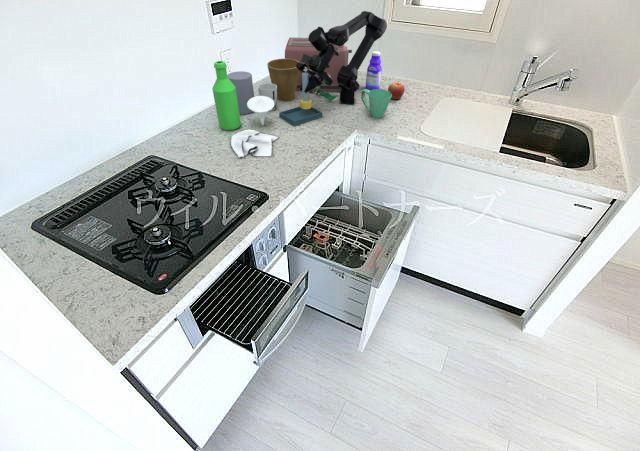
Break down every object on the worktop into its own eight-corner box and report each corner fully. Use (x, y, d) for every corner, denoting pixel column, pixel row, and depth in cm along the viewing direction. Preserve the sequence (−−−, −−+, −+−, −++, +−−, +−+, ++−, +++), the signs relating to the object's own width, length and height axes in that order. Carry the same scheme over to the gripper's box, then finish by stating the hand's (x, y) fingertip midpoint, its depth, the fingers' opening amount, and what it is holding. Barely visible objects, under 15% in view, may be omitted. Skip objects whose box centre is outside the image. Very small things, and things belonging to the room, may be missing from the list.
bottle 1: (222, 133, 135) (210, 67, 118) (217, 124, 141) (204, 60, 124) (244, 128, 138) (234, 64, 122) (237, 120, 144) (228, 57, 127)
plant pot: (272, 92, 168) (269, 57, 158) (301, 93, 168) (301, 58, 158) (267, 104, 157) (264, 68, 147) (299, 105, 157) (298, 69, 147)
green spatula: (307, 92, 169) (307, 82, 166) (310, 91, 170) (310, 81, 167) (336, 105, 157) (337, 95, 154) (339, 104, 158) (340, 94, 155)
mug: (392, 116, 150) (396, 93, 143) (378, 122, 145) (382, 99, 138) (367, 106, 158) (369, 84, 151) (353, 112, 152) (355, 89, 146)
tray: (307, 108, 154) (306, 104, 153) (322, 116, 148) (322, 112, 147) (279, 116, 147) (279, 112, 146) (294, 126, 141) (294, 121, 139)
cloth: (247, 127, 139) (246, 122, 137) (291, 141, 131) (291, 135, 129) (212, 148, 126) (210, 142, 124) (258, 165, 118) (257, 159, 116)
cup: (275, 113, 150) (273, 90, 143) (257, 111, 151) (255, 88, 144) (280, 106, 156) (279, 84, 149) (263, 104, 157) (261, 82, 150)
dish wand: (306, 103, 149) (306, 70, 139) (313, 107, 146) (313, 73, 137) (298, 106, 146) (297, 73, 137) (304, 110, 144) (304, 76, 134)
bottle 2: (363, 88, 174) (367, 52, 163) (367, 85, 178) (371, 49, 166) (376, 91, 172) (381, 54, 160) (380, 88, 175) (385, 51, 164)
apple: (401, 94, 169) (404, 78, 164) (404, 101, 163) (407, 84, 158) (385, 94, 169) (387, 78, 163) (388, 101, 163) (390, 84, 158)
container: (259, 107, 155) (255, 72, 145) (249, 116, 147) (245, 80, 137) (238, 104, 157) (233, 70, 147) (228, 113, 149) (222, 78, 139)
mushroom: (277, 129, 138) (275, 100, 130) (250, 131, 136) (246, 102, 128) (274, 119, 145) (272, 91, 138) (249, 120, 144) (245, 92, 136)
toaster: (350, 92, 170) (353, 48, 157) (283, 90, 170) (280, 46, 157) (348, 79, 185) (351, 37, 171) (286, 77, 185) (284, 36, 171)
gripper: (298, 40, 137) (278, 74, 140) (328, 50, 127) (305, 87, 129) (313, 57, 146) (294, 89, 149) (342, 68, 136) (321, 102, 138)
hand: (302, 91), depth 141 cm, fingers closed on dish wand, 2 cm apart
